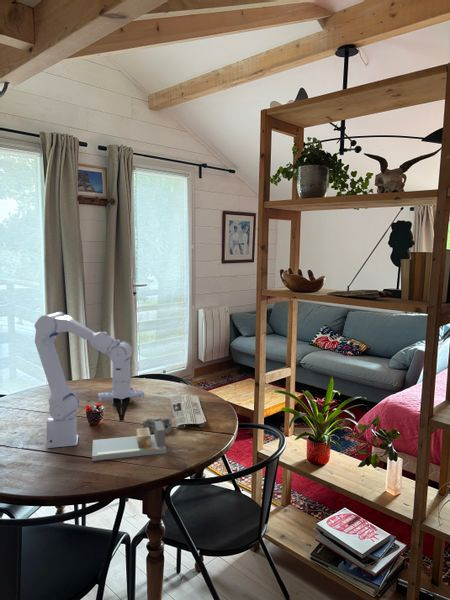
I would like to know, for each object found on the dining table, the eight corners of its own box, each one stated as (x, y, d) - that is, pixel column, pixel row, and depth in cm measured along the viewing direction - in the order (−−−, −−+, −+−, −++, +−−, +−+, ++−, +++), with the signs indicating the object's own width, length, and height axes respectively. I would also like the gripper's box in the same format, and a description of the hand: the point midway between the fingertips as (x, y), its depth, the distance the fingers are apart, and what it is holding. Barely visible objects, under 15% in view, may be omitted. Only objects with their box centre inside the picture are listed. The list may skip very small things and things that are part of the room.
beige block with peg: (138, 450, 140) (138, 439, 140) (136, 438, 149) (136, 428, 148) (151, 448, 141) (151, 438, 141) (148, 437, 150) (148, 427, 149)
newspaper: (169, 399, 194) (169, 392, 194) (197, 398, 197) (197, 390, 197) (176, 431, 160) (176, 422, 160) (210, 429, 163) (210, 420, 162)
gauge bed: (92, 460, 136) (91, 439, 135) (92, 444, 147) (92, 424, 147) (166, 453, 142) (166, 432, 141) (161, 437, 154) (161, 418, 153)
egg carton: (141, 435, 156) (141, 424, 156) (143, 427, 164) (143, 416, 163) (171, 434, 157) (171, 423, 157) (172, 426, 164) (172, 415, 164)
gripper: (98, 384, 138) (98, 426, 139) (144, 382, 142) (144, 422, 143) (98, 378, 145) (98, 418, 146) (143, 376, 148) (143, 414, 150)
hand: (121, 419), depth 145 cm, fingers closed
